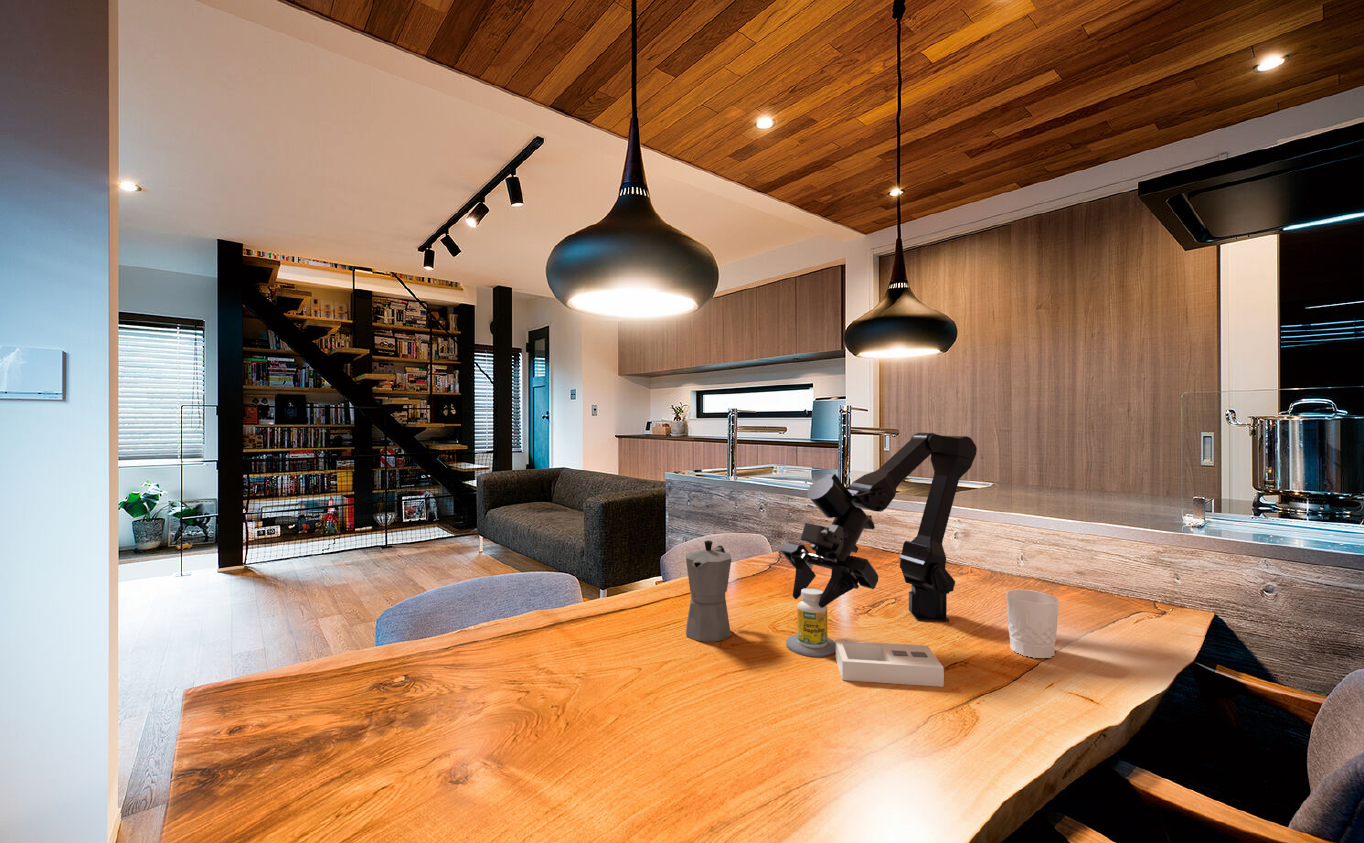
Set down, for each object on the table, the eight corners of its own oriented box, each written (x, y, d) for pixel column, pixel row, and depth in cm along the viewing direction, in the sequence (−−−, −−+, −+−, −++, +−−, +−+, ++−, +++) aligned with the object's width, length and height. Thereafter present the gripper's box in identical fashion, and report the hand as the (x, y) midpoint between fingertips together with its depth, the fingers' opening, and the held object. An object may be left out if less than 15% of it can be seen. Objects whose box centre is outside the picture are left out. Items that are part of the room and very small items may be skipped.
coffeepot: (720, 650, 99) (720, 550, 99) (672, 641, 103) (672, 545, 103) (744, 621, 114) (744, 534, 114) (701, 615, 117) (701, 530, 117)
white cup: (1017, 639, 105) (1017, 586, 105) (1065, 653, 98) (1065, 597, 98) (998, 649, 100) (998, 594, 100) (1047, 665, 94) (1047, 606, 94)
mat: (833, 638, 105) (833, 635, 105) (840, 658, 96) (840, 654, 96) (785, 635, 106) (785, 632, 106) (787, 655, 97) (787, 651, 97)
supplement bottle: (823, 637, 104) (824, 586, 104) (830, 649, 98) (830, 595, 98) (794, 637, 104) (795, 586, 104) (799, 648, 99) (800, 595, 99)
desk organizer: (927, 663, 94) (927, 644, 94) (943, 686, 86) (943, 666, 86) (835, 657, 96) (835, 639, 96) (842, 680, 88) (842, 660, 88)
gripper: (787, 501, 111) (747, 565, 104) (868, 513, 96) (829, 589, 89) (812, 535, 116) (776, 598, 109) (894, 552, 101) (858, 626, 94)
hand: (806, 602), depth 100 cm, fingers open, 6 cm apart
